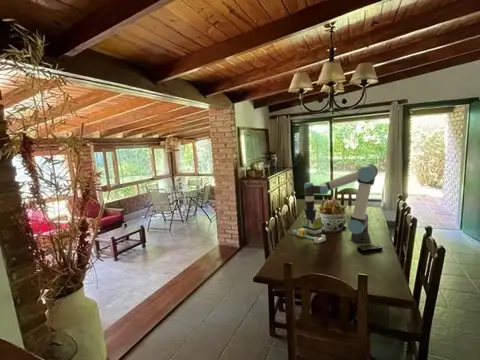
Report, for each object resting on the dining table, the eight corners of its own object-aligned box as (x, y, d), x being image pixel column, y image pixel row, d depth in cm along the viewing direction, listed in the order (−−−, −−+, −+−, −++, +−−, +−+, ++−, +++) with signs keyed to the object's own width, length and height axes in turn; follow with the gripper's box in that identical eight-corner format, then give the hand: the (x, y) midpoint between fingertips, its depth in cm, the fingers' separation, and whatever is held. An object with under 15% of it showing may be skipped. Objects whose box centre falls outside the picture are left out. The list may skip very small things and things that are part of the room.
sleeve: (306, 235, 256) (306, 229, 255) (302, 237, 253) (302, 230, 252) (302, 234, 260) (301, 228, 259) (298, 235, 257) (298, 229, 256)
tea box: (302, 231, 270) (302, 216, 268) (309, 228, 276) (308, 214, 274) (315, 234, 258) (314, 218, 257) (322, 232, 264) (321, 216, 263)
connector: (298, 233, 263) (298, 230, 263) (295, 234, 261) (295, 231, 260) (295, 232, 266) (295, 229, 266) (291, 233, 264) (291, 230, 263)
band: (300, 234, 260) (300, 231, 260) (298, 235, 258) (297, 232, 258) (299, 234, 261) (299, 231, 261) (297, 235, 259) (296, 232, 259)
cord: (322, 241, 239) (322, 239, 239) (321, 242, 238) (321, 240, 238) (294, 233, 265) (294, 231, 265) (293, 233, 264) (293, 232, 264)
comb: (325, 240, 242) (325, 235, 241) (317, 243, 236) (317, 238, 235) (322, 239, 245) (322, 234, 244) (314, 242, 239) (314, 237, 238)
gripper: (318, 200, 241) (320, 227, 244) (306, 199, 252) (308, 225, 254) (312, 202, 237) (314, 229, 239) (300, 200, 247) (302, 227, 250)
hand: (311, 227), depth 247 cm, fingers closed
